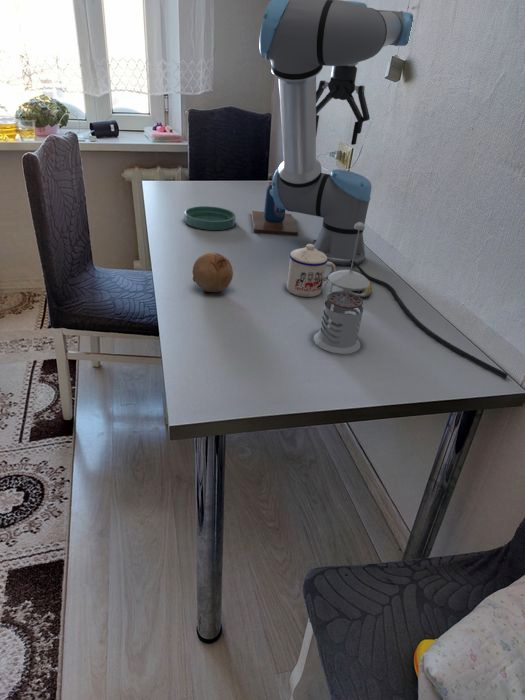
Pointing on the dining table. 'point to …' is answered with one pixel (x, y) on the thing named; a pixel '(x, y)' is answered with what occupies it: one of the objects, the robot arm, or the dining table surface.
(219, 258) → the onion
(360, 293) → the pastry
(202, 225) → the bowl
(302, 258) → the teacup with lid
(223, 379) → the dining table surface
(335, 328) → the french press
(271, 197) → the soda can
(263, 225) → the board
